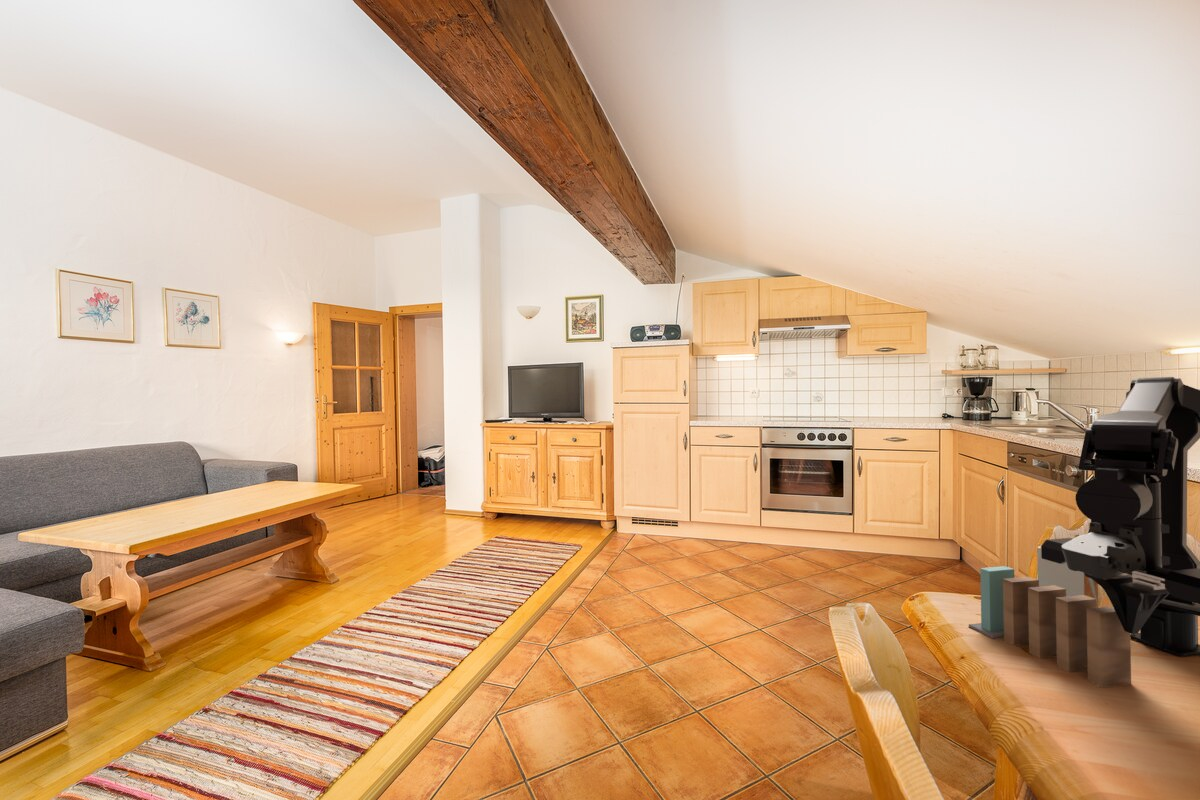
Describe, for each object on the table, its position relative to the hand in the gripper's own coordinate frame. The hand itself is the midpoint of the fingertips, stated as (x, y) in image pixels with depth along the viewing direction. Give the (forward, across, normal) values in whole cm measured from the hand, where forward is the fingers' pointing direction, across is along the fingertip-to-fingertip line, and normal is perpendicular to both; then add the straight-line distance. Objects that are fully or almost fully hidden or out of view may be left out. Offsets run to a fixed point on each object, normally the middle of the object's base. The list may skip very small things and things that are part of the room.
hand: (1131, 632), depth 66 cm
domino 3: (+8, -10, 0) cm, 13 cm away
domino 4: (+8, -6, 0) cm, 10 cm away
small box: (+8, -19, +15) cm, 26 cm away
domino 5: (+8, -2, 0) cm, 8 cm away
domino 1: (+8, -19, 0) cm, 20 cm away
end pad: (+8, -18, 0) cm, 20 cm away
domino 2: (+8, -14, 0) cm, 17 cm away
